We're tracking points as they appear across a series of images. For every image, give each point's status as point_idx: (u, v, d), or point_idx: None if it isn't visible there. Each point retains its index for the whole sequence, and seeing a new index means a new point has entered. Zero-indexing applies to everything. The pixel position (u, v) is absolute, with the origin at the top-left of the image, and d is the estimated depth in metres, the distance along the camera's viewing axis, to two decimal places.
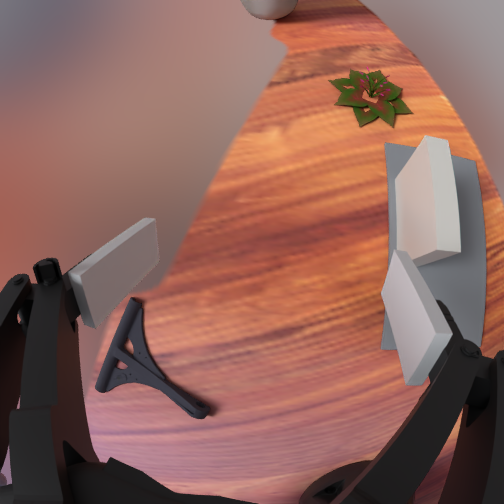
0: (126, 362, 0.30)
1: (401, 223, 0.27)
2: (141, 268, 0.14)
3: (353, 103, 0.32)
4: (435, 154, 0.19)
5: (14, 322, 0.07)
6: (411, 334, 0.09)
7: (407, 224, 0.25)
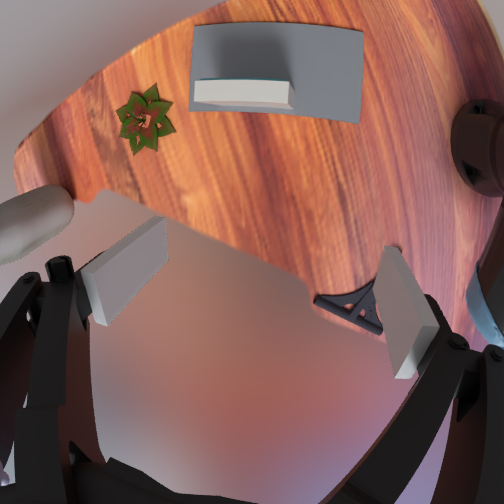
0: (360, 309, 0.45)
1: (260, 106, 0.34)
2: (152, 266, 0.15)
3: (154, 136, 0.40)
4: (209, 94, 0.27)
5: (23, 321, 0.08)
6: (399, 328, 0.10)
7: (262, 105, 0.32)
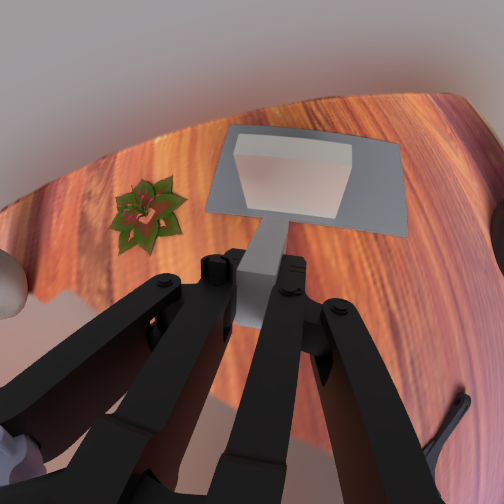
0: None
1: (298, 207, 0.30)
2: None
3: (153, 234, 0.33)
4: (255, 148, 0.23)
5: (139, 332, 0.08)
6: None
7: (305, 198, 0.28)
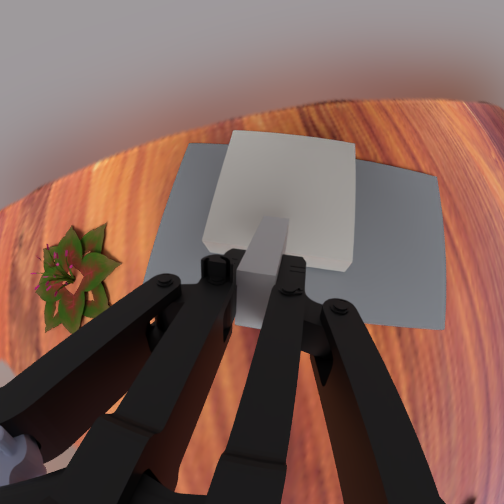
0: None
1: (291, 230, 0.19)
2: None
3: (78, 313, 0.21)
4: None
5: (139, 332, 0.08)
6: None
7: (304, 204, 0.19)
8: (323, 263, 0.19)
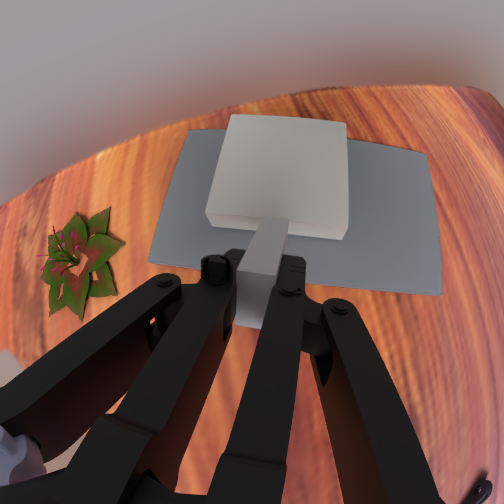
0: None
1: (288, 199, 0.20)
2: None
3: (83, 293, 0.22)
4: None
5: (139, 332, 0.08)
6: None
7: (300, 177, 0.20)
8: (321, 230, 0.20)
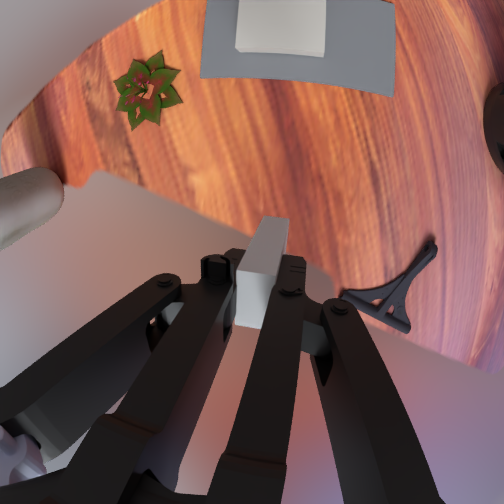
0: (389, 305, 0.39)
1: (286, 37, 0.24)
2: None
3: (157, 108, 0.33)
4: None
5: (139, 332, 0.08)
6: None
7: (293, 23, 0.23)
8: (308, 53, 0.26)
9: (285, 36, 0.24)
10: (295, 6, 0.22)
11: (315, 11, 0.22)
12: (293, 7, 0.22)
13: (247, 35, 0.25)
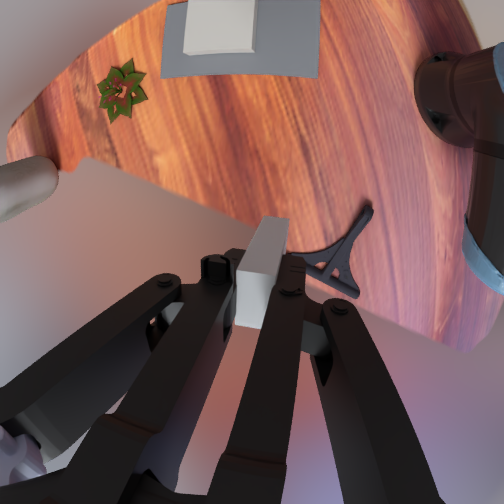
0: (332, 268, 0.45)
1: (221, 39, 0.31)
2: None
3: (129, 104, 0.40)
4: None
5: (139, 332, 0.08)
6: None
7: (227, 27, 0.30)
8: (240, 50, 0.32)
9: (220, 39, 0.31)
10: (229, 13, 0.29)
11: (245, 15, 0.29)
12: (227, 14, 0.29)
13: (192, 41, 0.31)
